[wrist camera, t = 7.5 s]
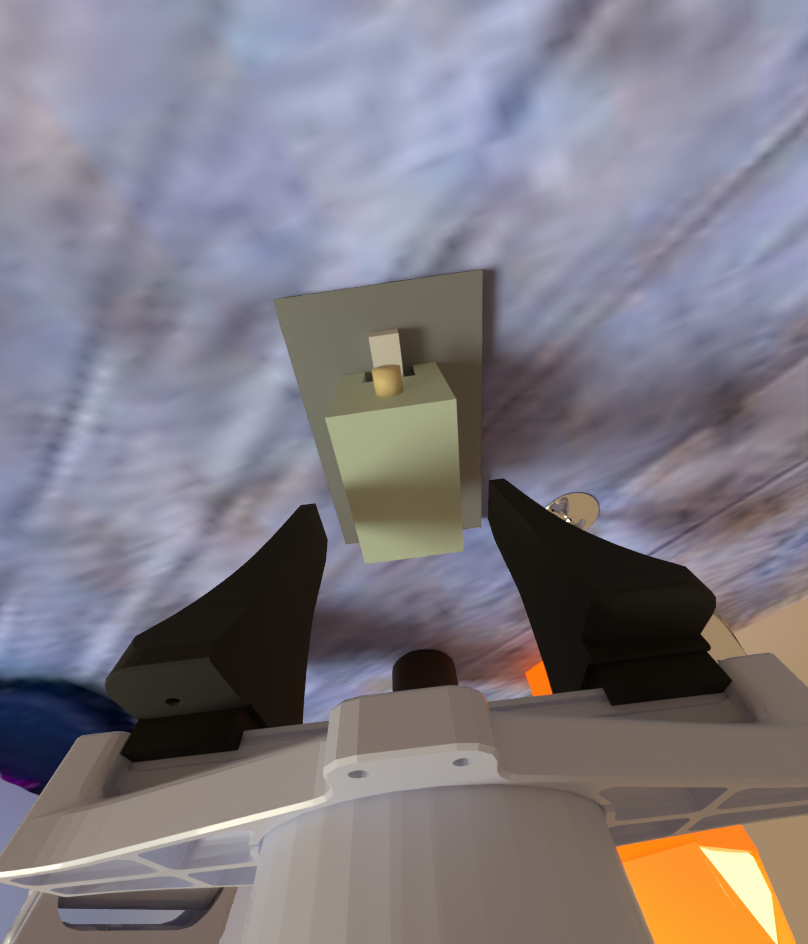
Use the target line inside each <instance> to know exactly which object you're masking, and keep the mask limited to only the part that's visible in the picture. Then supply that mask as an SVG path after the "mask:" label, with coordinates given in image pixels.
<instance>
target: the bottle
mask: <svg viewBox="0 0 808 944" xmlns="http://www.w3.org/2000/svg"><path fill="white" fill-rule="evenodd" d="M392 682H393V692H397V691H405V690H413V689H421V688H430V687H438V686H446V685H456V686H458V681H457V675H456V669H455V666H454V663H453V660H452V659H451V658H449V657H448V656H447V655H445V654H443V653H441V652H437V651H431V650H427V651H417V652H412V653H409V654H407V655H405V656H403V657H402V658H400V659H399V660H398V661H396V663H395V665H394V666H393V671H392Z"/></svg>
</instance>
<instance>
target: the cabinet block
mask: <svg viewBox="0 0 808 944" xmlns="http://www.w3.org/2000/svg"><path fill="white" fill-rule="evenodd" d="M413 372H414V375H413V376H407V377H402V376H401V368H400V365H396V364H390V365H383V366H379V367H376V368H374V369H372V376H373V381H372V382H366V377H365V372H363V373H356V374H349V375H343V376H342V378H341V380H340V383H339V385H338V388H337V390H336V392H335V395H334V397H333V400H332V402H331V404H330V407H329V409H328V412H327V414H326V416H325V420H326V424H327V427H328V431H329V434H330V438H331V442H332V445H333V449H334V452H335V456H336V460H337V463H338V467H339V470H340V474H341V478H342V481H343V485H344V488H345V492H346V496H347V499H348V503H349V506H350V510H351V514H352V517H353V521H354V524H355V528H356V532H357V535H358V539H359V542H360V546H361V549H362V553H363V557H364V560H365V564H369V563H377V562H384V561H392V560H400V559H407V558H415V557H422V556H430V555H438V554H445V553H453V552H460V551H463V534H462V513H461V491H460V469H459V447H458V425H457V403H456V398H455V396H454V394H453V392H452V391H451V389H450V387H449V385H448V384H447V382H446V380H445V378H444V377H443V375H442V373H441V371H440V370H439V368H438V366H437V365H436V363H435V362H431V363H424V364H417V365H413Z"/></svg>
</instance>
